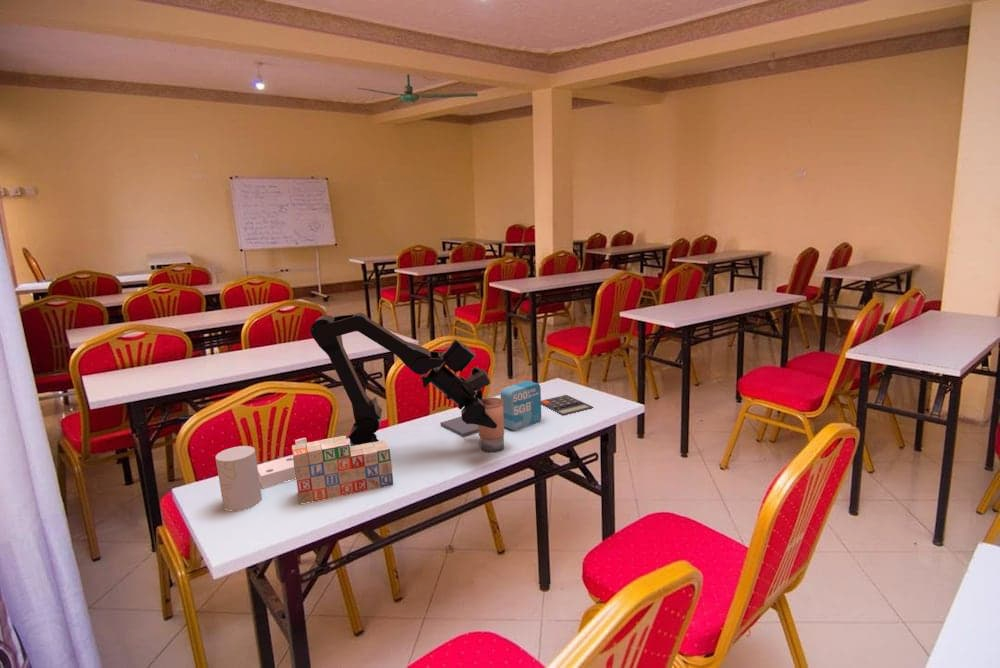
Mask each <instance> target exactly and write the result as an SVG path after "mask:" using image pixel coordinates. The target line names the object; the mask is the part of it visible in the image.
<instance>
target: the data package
mask: <svg viewBox="0 0 1000 668" xmlns="http://www.w3.org/2000/svg"><path fill="white" fill-rule="evenodd" d="M541 388H542V387H541V385H540V384H539V383H537V382H534V381H531V380H525V381H522V382H519V383H516V384H513V385H509V386H506V387H503V388H502V389H501V391H500V399H502V400H503V416H504V428H506V429H509V430H512V431H513V432H514V431H518V430H521V429H523V428H526V427H529V426H531V425H534V424H537V423H538V422H541V419H542V405H541V400H542V394H541Z"/></svg>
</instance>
